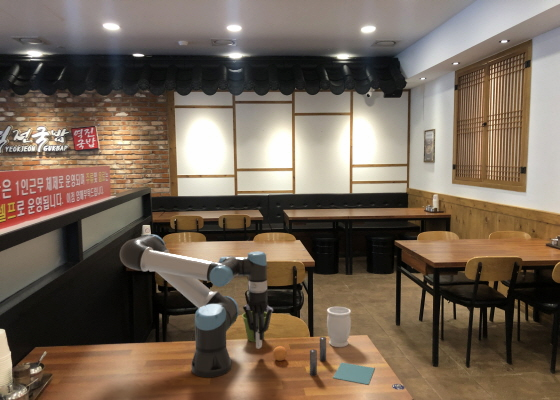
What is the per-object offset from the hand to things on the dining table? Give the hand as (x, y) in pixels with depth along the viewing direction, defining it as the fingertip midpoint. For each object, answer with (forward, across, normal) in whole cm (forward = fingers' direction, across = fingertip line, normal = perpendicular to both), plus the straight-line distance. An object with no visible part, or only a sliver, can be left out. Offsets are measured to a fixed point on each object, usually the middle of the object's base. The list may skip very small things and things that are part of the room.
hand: (259, 346), depth 174 cm
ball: (+1, +9, 0) cm, 9 cm away
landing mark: (+4, +39, 0) cm, 39 cm away
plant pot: (+4, -9, +15) cm, 18 cm away
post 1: (+4, +25, -6) cm, 26 cm away
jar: (+4, +27, +24) cm, 36 cm away
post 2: (+4, +25, +6) cm, 26 cm away
